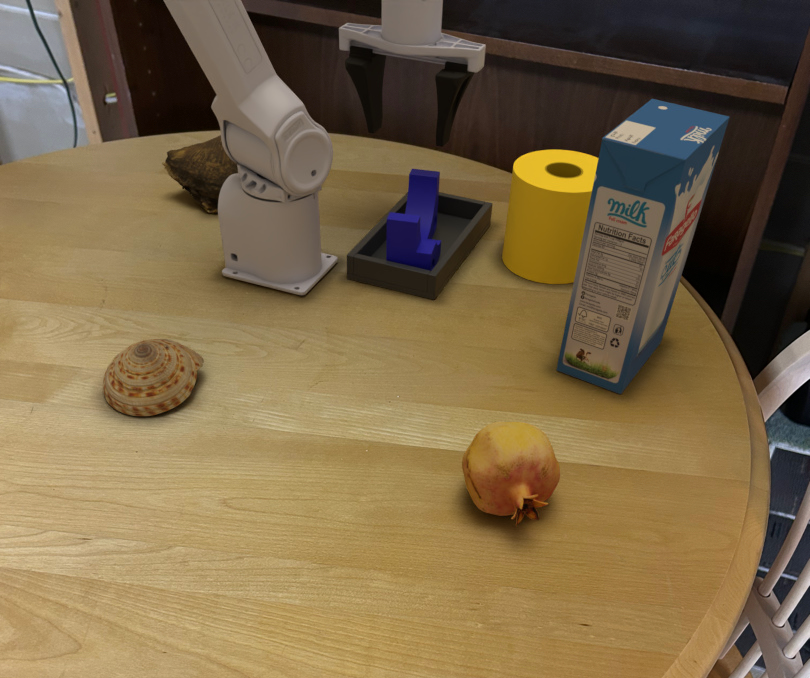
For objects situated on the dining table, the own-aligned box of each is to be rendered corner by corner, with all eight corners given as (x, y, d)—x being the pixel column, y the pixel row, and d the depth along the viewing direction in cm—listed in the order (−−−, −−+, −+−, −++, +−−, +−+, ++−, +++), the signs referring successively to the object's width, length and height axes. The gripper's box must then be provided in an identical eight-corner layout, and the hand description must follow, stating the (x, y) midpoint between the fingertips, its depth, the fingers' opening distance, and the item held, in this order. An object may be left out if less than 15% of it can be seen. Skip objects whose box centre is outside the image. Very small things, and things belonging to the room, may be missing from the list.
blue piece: (429, 282, 81) (432, 224, 76) (386, 276, 81) (386, 219, 77) (450, 228, 89) (453, 173, 84) (410, 223, 89) (412, 168, 85)
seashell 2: (297, 165, 99) (297, 111, 93) (317, 213, 95) (319, 159, 89) (162, 180, 95) (154, 124, 89) (178, 230, 91) (170, 175, 85)
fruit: (440, 403, 59) (475, 494, 52) (530, 375, 59) (577, 462, 52) (456, 469, 64) (490, 559, 57) (539, 443, 64) (583, 531, 57)
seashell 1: (221, 342, 70) (172, 357, 63) (217, 404, 72) (170, 426, 65) (138, 323, 71) (80, 336, 64) (137, 385, 74) (82, 404, 67)
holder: (346, 278, 82) (346, 254, 80) (412, 208, 93) (412, 186, 91) (434, 300, 80) (435, 276, 78) (490, 225, 91) (492, 202, 89)
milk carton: (620, 395, 70) (685, 159, 55) (555, 370, 72) (602, 137, 57) (661, 342, 76) (730, 115, 61) (600, 321, 78) (652, 98, 63)
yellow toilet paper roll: (607, 250, 88) (626, 161, 81) (580, 293, 81) (599, 201, 74) (520, 229, 90) (532, 142, 83) (488, 269, 84) (498, 178, 77)
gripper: (501, -19, 75) (486, 135, 85) (359, -38, 78) (361, 111, 88) (476, 0, 70) (463, 160, 80) (326, -22, 74) (332, 134, 84)
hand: (408, 136), depth 84 cm, fingers open, 7 cm apart
